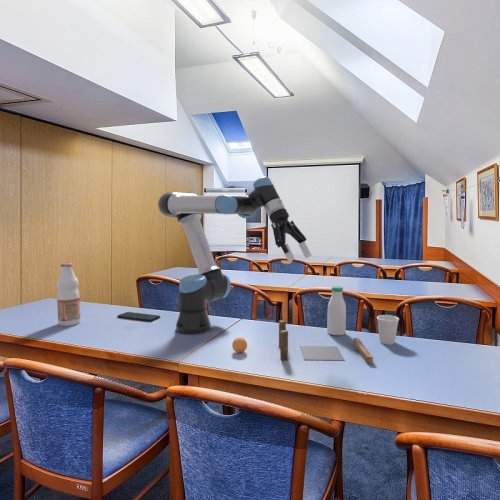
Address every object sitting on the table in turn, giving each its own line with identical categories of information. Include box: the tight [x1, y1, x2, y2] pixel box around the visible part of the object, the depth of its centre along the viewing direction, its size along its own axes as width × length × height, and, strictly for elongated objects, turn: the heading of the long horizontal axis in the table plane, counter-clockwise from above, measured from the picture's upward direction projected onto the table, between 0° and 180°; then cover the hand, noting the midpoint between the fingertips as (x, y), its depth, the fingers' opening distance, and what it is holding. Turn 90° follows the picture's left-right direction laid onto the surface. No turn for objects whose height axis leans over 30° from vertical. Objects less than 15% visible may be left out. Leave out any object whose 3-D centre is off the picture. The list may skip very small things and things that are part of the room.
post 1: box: [278, 320, 287, 349], centre depth 150 cm, size 3×3×10 cm
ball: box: [231, 336, 248, 354], centre depth 144 cm, size 6×6×6 cm
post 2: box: [279, 329, 289, 361], centre depth 137 cm, size 3×3×10 cm
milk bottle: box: [326, 285, 347, 336], centre depth 166 cm, size 8×8×20 cm
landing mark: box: [299, 345, 346, 362], centre depth 144 cm, size 14×14×1 cm
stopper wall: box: [352, 337, 374, 365], centre depth 143 cm, size 2×20×2 cm, turn 178°
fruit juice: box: [56, 262, 81, 327], centre depth 180 cm, size 9×9×28 cm
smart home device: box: [116, 311, 161, 323], centre depth 192 cm, size 8×2×20 cm
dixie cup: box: [376, 314, 400, 346], centre depth 155 cm, size 8×8×10 cm
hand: (300, 258), depth 153 cm, fingers open, 13 cm apart
